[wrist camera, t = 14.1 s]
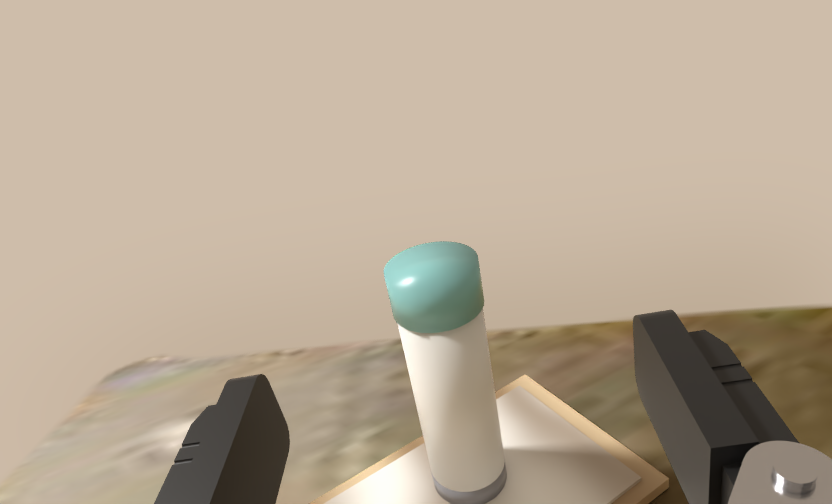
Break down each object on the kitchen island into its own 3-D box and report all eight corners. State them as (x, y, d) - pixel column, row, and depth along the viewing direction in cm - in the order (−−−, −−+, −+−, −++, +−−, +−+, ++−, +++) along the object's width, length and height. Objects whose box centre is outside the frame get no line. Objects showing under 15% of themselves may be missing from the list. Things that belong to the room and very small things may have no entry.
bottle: (477, 434, 31) (443, 233, 26) (525, 479, 28) (497, 261, 23) (417, 471, 30) (367, 265, 24) (460, 523, 27) (414, 301, 21)
